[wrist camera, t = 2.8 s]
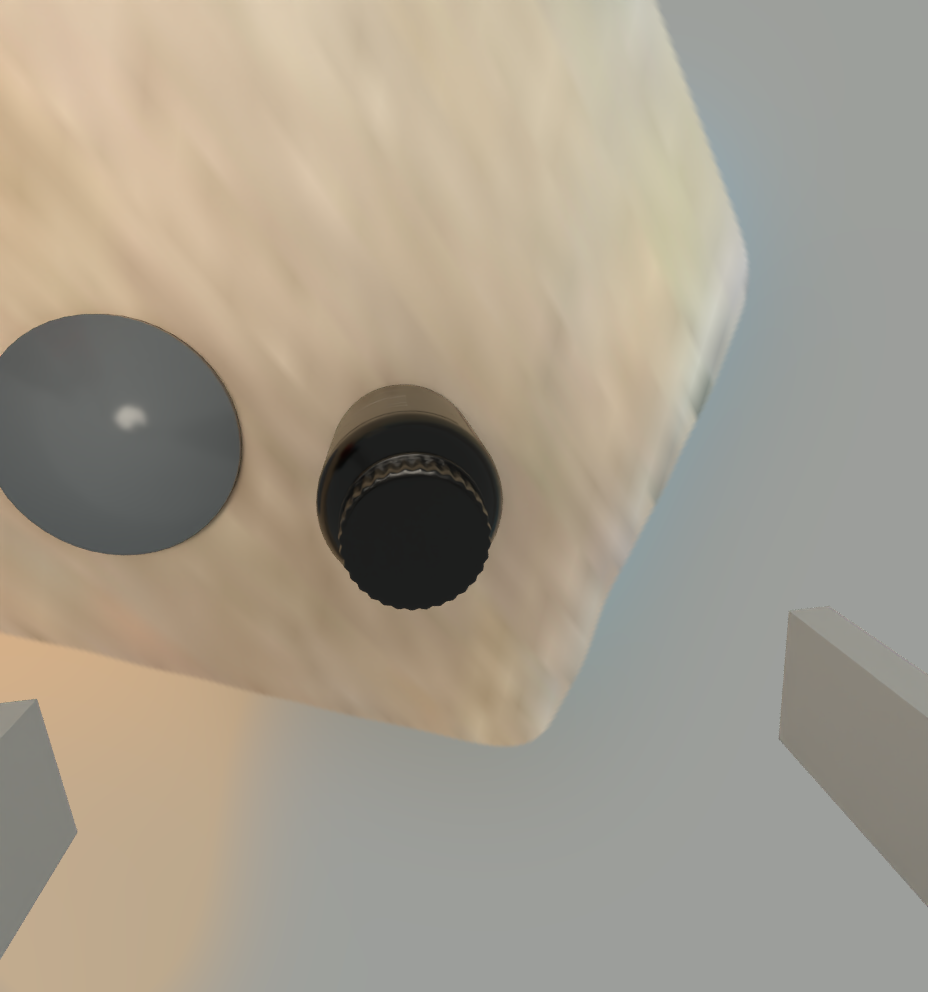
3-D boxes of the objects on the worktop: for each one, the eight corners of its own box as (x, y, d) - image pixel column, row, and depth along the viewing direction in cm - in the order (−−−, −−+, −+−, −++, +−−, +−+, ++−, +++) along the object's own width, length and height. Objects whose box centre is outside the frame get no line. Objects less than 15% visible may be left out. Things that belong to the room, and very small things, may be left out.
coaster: (24, 562, 31) (17, 567, 30) (-45, 324, 28) (-55, 324, 27) (259, 537, 32) (257, 542, 31) (218, 304, 28) (214, 304, 28)
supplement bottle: (328, 514, 32) (292, 633, 20) (338, 374, 30) (305, 418, 18) (466, 526, 33) (506, 646, 21) (484, 391, 31) (538, 443, 19)
